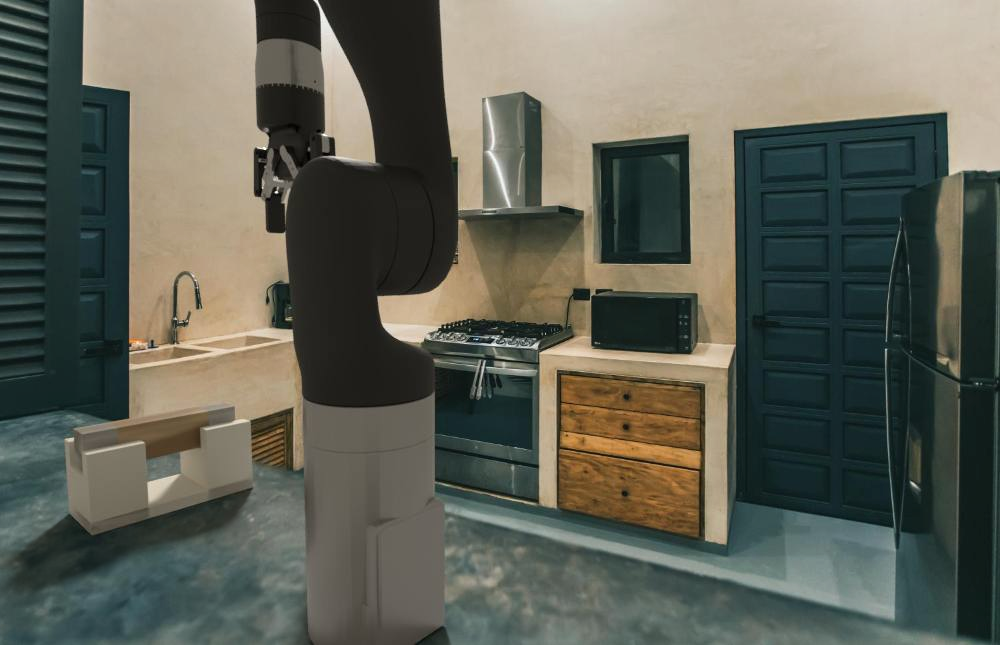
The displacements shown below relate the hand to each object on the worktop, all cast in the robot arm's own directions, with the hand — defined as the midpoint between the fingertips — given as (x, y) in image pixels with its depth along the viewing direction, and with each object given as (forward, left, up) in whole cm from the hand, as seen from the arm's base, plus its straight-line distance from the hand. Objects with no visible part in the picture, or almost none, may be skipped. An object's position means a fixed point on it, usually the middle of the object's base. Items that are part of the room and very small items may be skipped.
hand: (294, 231), depth 68 cm
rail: (+5, +14, -25) cm, 29 cm away
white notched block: (+5, +14, -30) cm, 33 cm away
